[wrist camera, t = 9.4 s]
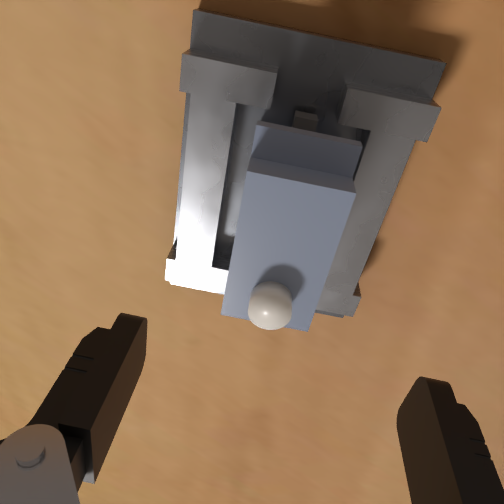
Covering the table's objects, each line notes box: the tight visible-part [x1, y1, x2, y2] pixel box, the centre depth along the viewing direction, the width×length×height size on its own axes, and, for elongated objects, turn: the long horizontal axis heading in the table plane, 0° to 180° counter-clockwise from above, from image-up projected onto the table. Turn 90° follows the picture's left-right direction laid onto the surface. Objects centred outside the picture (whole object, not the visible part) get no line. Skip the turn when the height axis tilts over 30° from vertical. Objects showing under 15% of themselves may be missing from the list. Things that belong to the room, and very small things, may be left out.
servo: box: [221, 110, 363, 332], centre depth 19 cm, size 10×4×7 cm, turn 170°
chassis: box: [165, 8, 447, 318], centre depth 22 cm, size 15×11×2 cm
